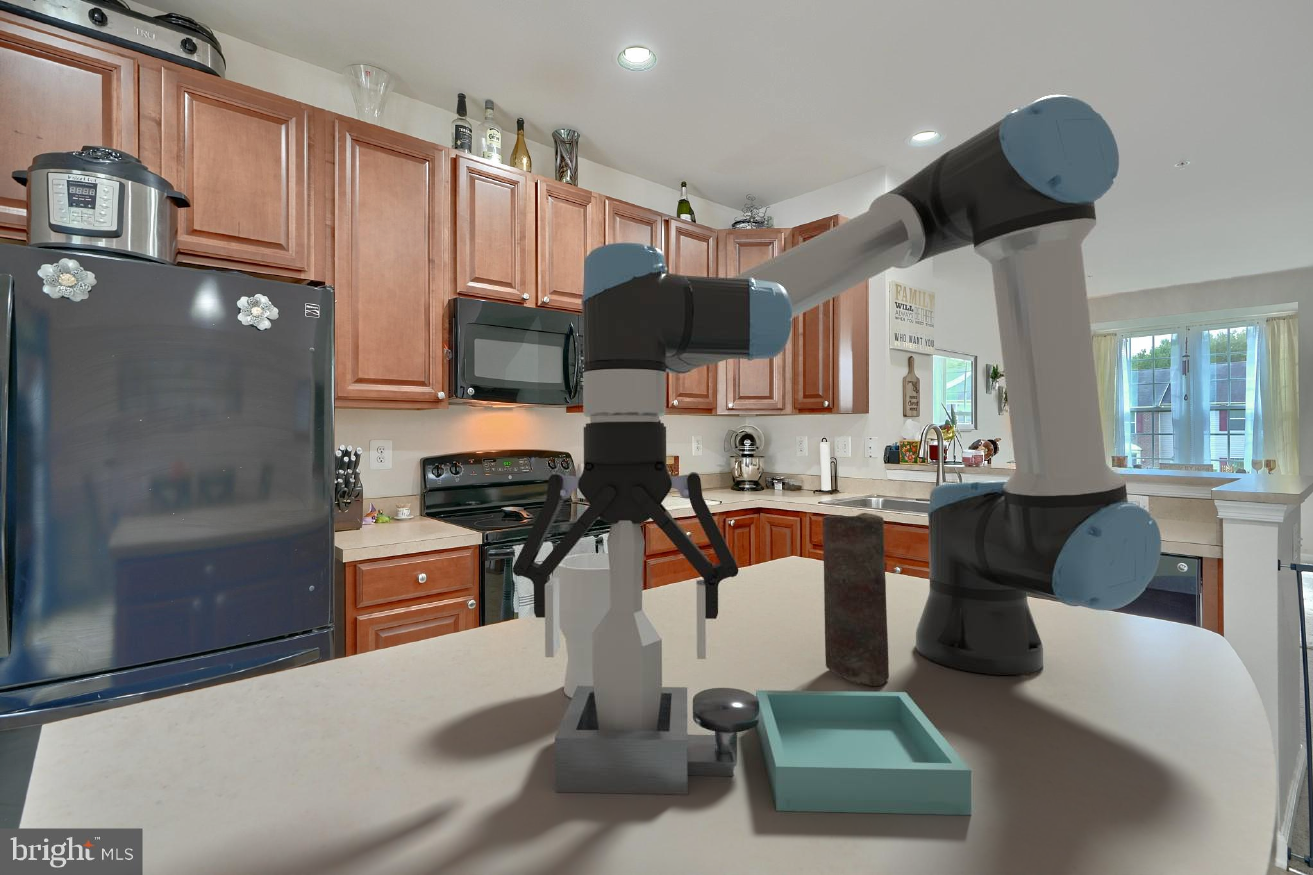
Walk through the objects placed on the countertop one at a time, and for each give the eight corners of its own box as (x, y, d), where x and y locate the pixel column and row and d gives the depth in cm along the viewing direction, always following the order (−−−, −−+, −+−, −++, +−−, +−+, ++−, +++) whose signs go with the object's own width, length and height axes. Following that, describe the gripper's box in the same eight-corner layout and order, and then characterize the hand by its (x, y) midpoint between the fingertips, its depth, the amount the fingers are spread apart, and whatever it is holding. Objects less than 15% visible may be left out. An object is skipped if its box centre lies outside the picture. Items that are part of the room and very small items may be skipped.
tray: (905, 726, 65) (905, 692, 65) (971, 815, 50) (971, 770, 50) (756, 724, 66) (755, 690, 66) (776, 810, 51) (776, 766, 51)
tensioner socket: (753, 733, 64) (752, 678, 64) (766, 796, 53) (766, 729, 53) (577, 730, 64) (577, 675, 64) (555, 791, 53) (554, 725, 53)
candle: (820, 683, 76) (819, 514, 76) (826, 662, 83) (825, 507, 83) (888, 691, 74) (888, 517, 73) (889, 669, 80) (888, 510, 80)
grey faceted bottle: (581, 753, 60) (579, 517, 60) (641, 737, 63) (639, 513, 63) (610, 785, 54) (609, 525, 54) (674, 765, 57) (673, 520, 57)
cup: (630, 712, 69) (629, 572, 69) (537, 704, 71) (536, 568, 71) (651, 675, 79) (650, 553, 79) (569, 669, 81) (568, 550, 81)
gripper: (758, 420, 62) (759, 640, 62) (501, 422, 63) (503, 638, 63) (768, 418, 54) (769, 669, 54) (476, 420, 55) (478, 666, 55)
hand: (626, 653), depth 59 cm, fingers open, 13 cm apart
